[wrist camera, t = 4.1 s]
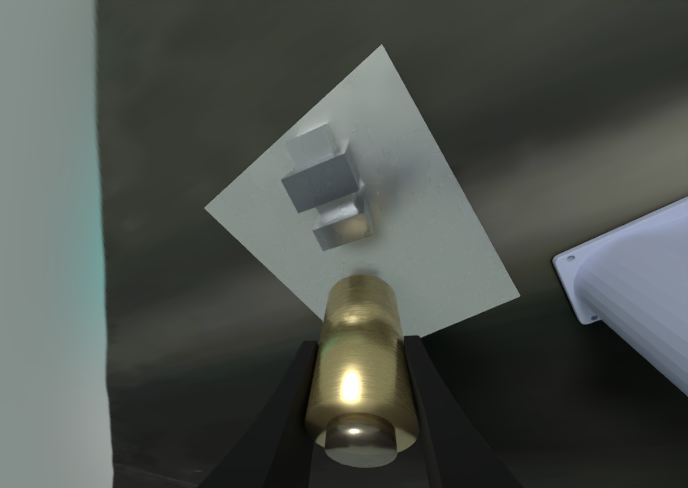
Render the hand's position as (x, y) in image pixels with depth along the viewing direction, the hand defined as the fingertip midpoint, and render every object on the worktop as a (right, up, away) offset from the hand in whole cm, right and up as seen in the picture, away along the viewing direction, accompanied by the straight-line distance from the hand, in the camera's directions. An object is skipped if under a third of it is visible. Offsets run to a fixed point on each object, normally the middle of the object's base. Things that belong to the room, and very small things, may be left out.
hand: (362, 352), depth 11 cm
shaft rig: (+1, +4, +8) cm, 9 cm away
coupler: (0, +2, +3) cm, 3 cm away
